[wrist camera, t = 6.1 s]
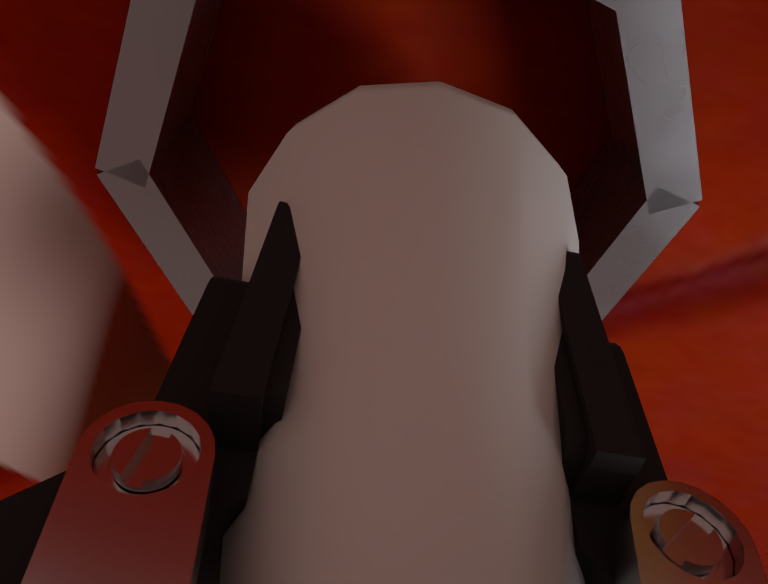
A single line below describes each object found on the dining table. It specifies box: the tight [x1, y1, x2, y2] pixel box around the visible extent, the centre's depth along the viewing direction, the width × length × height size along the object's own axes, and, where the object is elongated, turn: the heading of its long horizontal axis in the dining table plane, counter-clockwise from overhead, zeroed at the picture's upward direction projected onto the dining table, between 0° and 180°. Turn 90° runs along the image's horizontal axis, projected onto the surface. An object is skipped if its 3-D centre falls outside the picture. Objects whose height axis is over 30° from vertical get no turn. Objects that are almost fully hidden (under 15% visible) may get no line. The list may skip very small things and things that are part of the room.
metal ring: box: [95, 0, 702, 320], centre depth 14 cm, size 11×11×3 cm
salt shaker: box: [219, 81, 585, 584], centre depth 9 cm, size 6×6×13 cm
